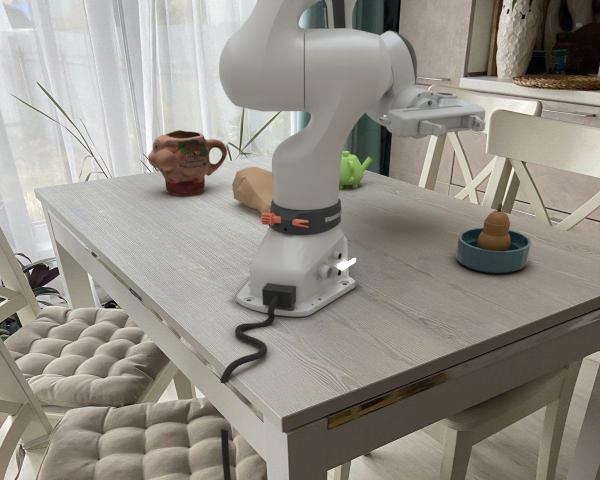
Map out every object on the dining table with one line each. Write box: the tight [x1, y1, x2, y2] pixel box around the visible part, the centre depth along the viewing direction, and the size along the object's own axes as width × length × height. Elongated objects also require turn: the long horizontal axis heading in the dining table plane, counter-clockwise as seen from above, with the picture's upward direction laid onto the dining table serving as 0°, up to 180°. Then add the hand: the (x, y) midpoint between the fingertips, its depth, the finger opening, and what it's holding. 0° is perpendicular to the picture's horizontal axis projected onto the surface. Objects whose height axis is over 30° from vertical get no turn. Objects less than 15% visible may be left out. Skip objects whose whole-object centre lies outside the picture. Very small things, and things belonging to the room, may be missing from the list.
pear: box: [477, 202, 511, 251], centre depth 113 cm, size 6×6×10 cm
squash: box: [231, 166, 273, 216], centre depth 142 cm, size 11×20×9 cm, turn 25°
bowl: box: [455, 227, 532, 274], centre depth 115 cm, size 13×13×4 cm
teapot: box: [339, 150, 374, 190], centre depth 159 cm, size 11×12×8 cm
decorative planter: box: [147, 129, 228, 197], centre depth 155 cm, size 20×12×14 cm, turn 115°
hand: (462, 129), depth 113 cm, fingers open, 8 cm apart
